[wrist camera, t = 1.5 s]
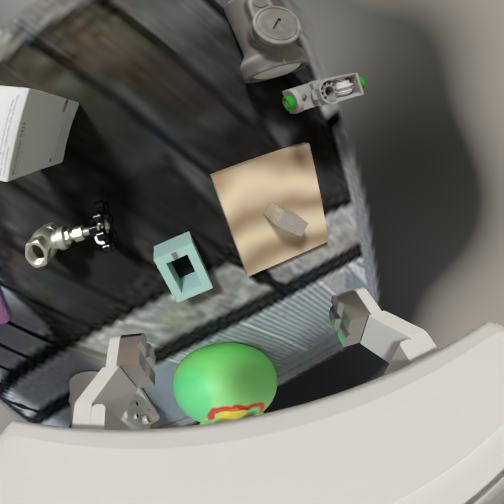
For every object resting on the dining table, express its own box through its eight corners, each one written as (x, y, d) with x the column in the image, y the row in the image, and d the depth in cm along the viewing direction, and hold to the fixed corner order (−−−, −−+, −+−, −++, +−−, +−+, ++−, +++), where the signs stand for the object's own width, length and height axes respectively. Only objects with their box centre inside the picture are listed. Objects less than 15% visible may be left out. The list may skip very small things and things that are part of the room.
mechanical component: (254, 97, 33) (285, 90, 24) (318, 77, 33) (362, 70, 25) (262, 117, 34) (295, 117, 26) (325, 96, 35) (369, 94, 26)
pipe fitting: (297, 76, 32) (329, 57, 23) (241, 90, 32) (256, 71, 22) (268, 6, 27) (290, -28, 18) (213, 17, 27) (219, -19, 18)
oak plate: (324, 237, 45) (328, 241, 44) (245, 271, 44) (248, 276, 42) (304, 142, 37) (309, 143, 36) (209, 174, 36) (211, 176, 34)
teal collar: (208, 273, 42) (213, 289, 38) (175, 287, 41) (177, 303, 38) (189, 231, 38) (192, 243, 34) (154, 246, 37) (153, 260, 34)
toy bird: (268, 322, 50) (302, 382, 37) (255, 380, 57) (279, 435, 44) (166, 329, 44) (175, 401, 32) (172, 389, 51) (183, 450, 38)
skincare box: (63, 162, 28) (10, 189, 16) (27, 155, 26) (-35, 179, 13) (81, 99, 26) (31, 87, 13) (43, 93, 23) (-17, 84, 11)
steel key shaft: (292, 211, 40) (308, 223, 36) (285, 223, 40) (301, 236, 36) (269, 200, 38) (283, 211, 34) (262, 213, 39) (276, 225, 34)
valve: (48, 257, 33) (119, 239, 36) (33, 281, 27) (112, 261, 30) (34, 216, 30) (107, 193, 32) (14, 234, 24) (96, 208, 27)
